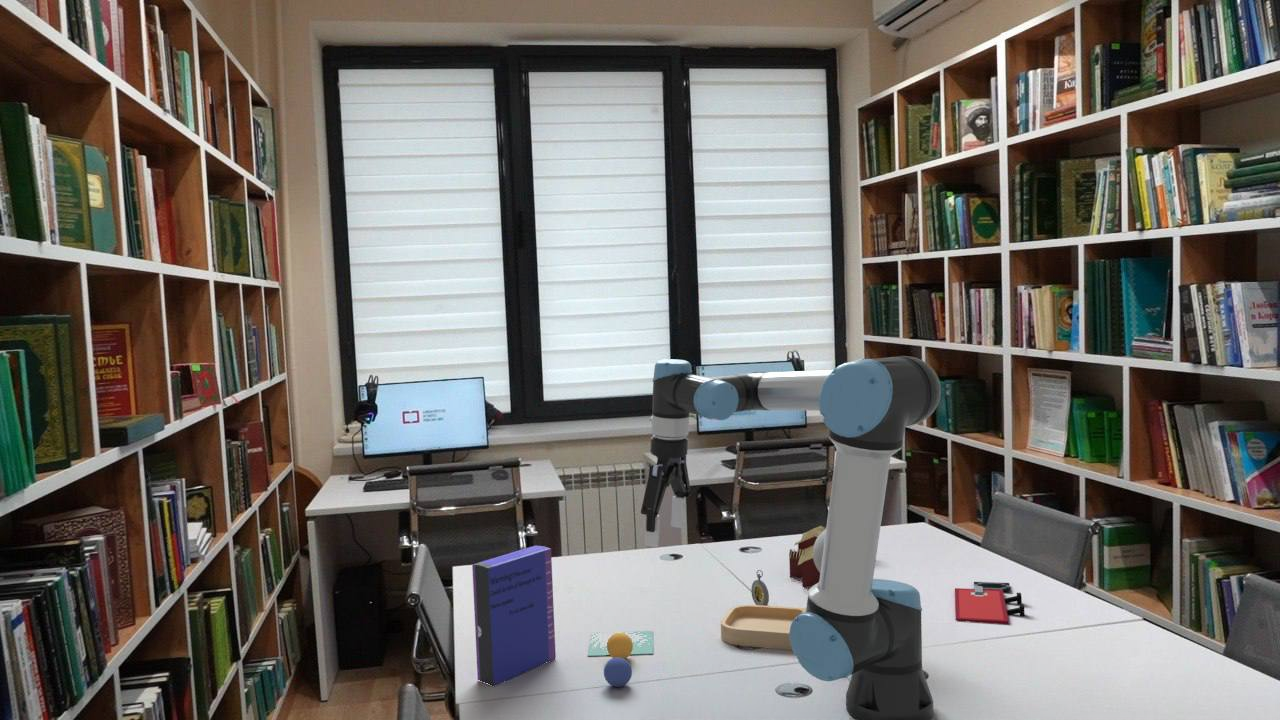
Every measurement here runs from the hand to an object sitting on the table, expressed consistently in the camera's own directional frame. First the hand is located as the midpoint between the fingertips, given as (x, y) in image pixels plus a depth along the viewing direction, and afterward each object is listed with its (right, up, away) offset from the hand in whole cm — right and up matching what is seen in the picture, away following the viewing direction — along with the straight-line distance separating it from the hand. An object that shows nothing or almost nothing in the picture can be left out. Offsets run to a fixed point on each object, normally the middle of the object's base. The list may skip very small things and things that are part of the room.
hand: (664, 536), depth 190 cm
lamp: (+30, -25, +14) cm, 41 cm away
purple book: (-30, -28, +1) cm, 41 cm away
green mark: (-9, -26, +13) cm, 31 cm away
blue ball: (-9, -25, -10) cm, 28 cm away
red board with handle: (+79, -23, +32) cm, 88 cm away
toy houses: (+46, -22, +59) cm, 78 cm away
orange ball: (-9, -24, +4) cm, 26 cm away
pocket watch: (+22, -24, +31) cm, 45 cm away
